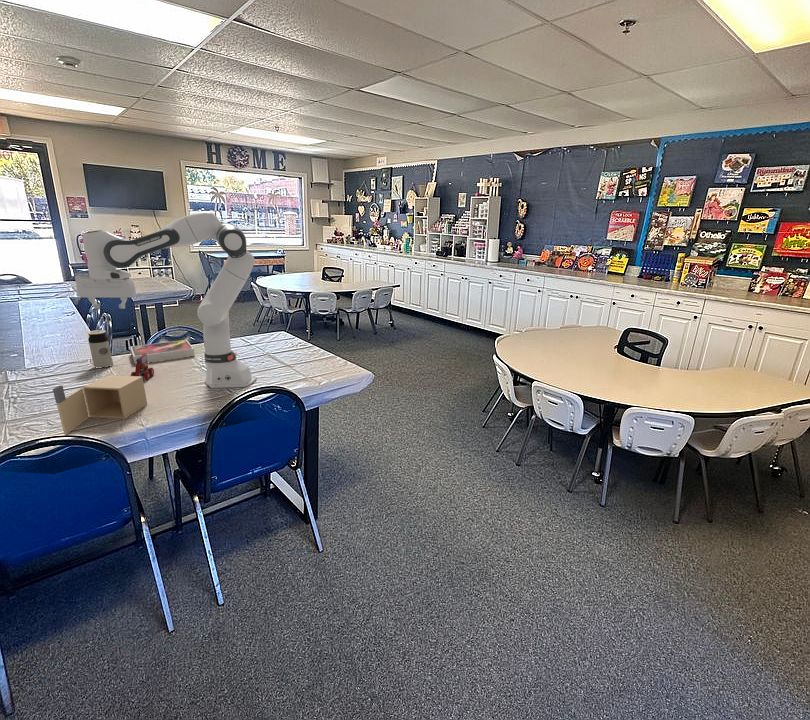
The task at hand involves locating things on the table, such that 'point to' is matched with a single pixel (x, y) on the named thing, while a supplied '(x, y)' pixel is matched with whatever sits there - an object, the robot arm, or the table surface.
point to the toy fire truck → (143, 368)
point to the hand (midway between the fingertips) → (109, 308)
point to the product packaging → (163, 351)
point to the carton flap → (70, 408)
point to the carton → (115, 396)
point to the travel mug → (100, 348)
